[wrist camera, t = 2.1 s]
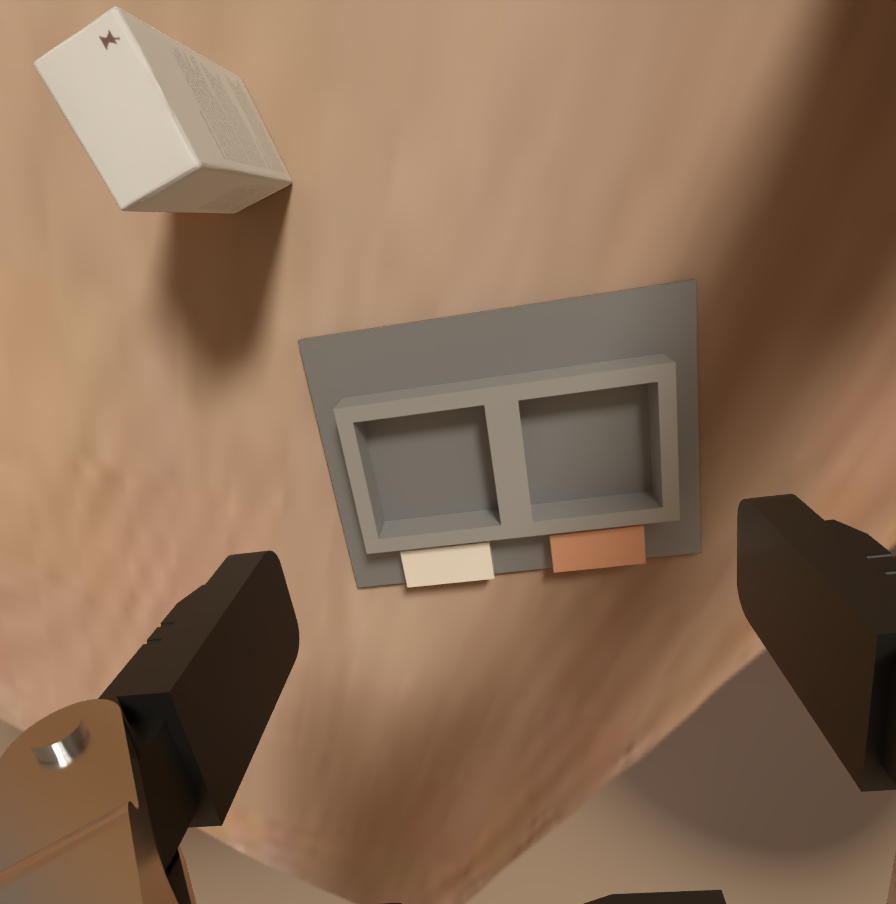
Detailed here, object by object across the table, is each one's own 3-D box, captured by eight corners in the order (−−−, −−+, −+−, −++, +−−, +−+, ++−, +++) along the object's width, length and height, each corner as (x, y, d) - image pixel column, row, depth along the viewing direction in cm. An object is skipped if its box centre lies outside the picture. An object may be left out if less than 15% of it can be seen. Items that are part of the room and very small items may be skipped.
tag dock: (693, 279, 35) (711, 284, 32) (697, 548, 41) (713, 572, 38) (300, 338, 38) (285, 348, 35) (359, 583, 44) (350, 608, 41)
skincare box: (178, 114, 34) (24, 56, 23) (242, 76, 33) (115, -3, 22) (234, 219, 36) (118, 214, 24) (296, 186, 35) (204, 165, 23)
